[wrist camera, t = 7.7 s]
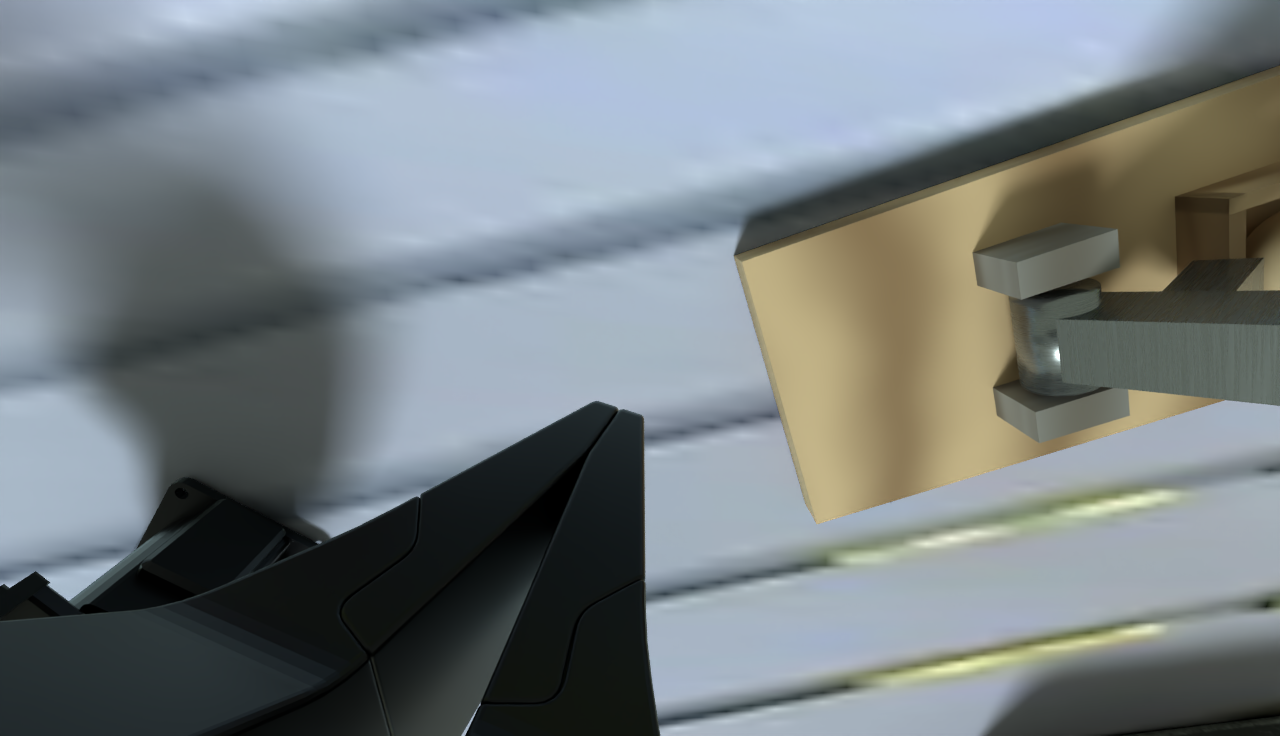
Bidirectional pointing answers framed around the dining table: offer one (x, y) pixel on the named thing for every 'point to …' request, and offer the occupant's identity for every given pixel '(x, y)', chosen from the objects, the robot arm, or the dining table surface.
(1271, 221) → the beige ball
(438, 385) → the dining table surface
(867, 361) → the base
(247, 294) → the dining table surface
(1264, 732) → the cash box
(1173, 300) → the lever
